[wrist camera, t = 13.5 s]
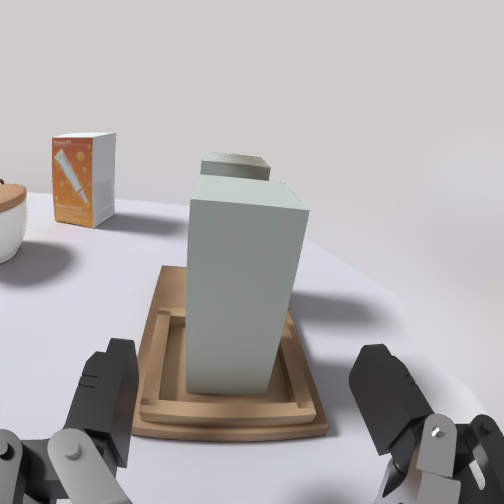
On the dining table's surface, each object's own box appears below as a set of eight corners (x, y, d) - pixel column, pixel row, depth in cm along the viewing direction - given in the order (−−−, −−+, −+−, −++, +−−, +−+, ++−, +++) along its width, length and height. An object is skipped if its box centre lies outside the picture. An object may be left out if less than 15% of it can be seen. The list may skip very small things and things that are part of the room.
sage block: (186, 392, 17) (190, 199, 12) (189, 339, 22) (197, 174, 17) (265, 393, 18) (309, 210, 13) (256, 342, 22) (285, 183, 17)
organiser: (126, 433, 14) (81, 219, 9) (162, 273, 31) (166, 147, 26) (324, 435, 16) (412, 246, 11) (274, 281, 33) (296, 160, 28)
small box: (54, 221, 40) (50, 136, 34) (77, 209, 45) (76, 132, 40) (94, 229, 39) (93, 136, 34) (115, 215, 45) (117, 132, 39)
